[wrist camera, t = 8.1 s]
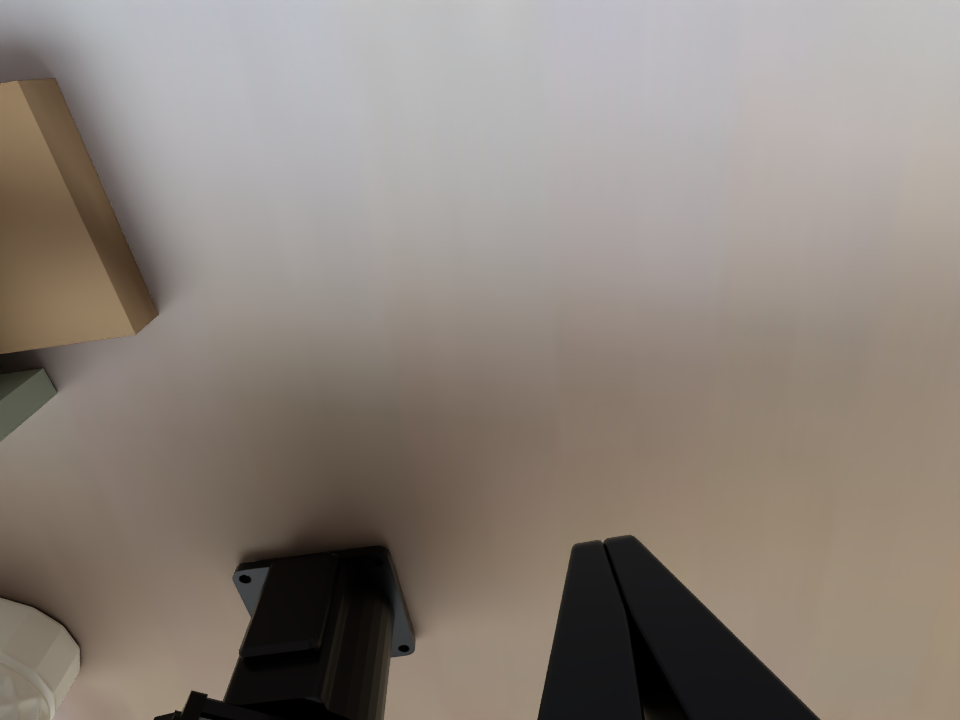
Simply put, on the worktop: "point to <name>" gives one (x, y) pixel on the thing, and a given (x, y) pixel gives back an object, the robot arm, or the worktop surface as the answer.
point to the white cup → (34, 663)
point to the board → (58, 232)
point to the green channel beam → (22, 397)
